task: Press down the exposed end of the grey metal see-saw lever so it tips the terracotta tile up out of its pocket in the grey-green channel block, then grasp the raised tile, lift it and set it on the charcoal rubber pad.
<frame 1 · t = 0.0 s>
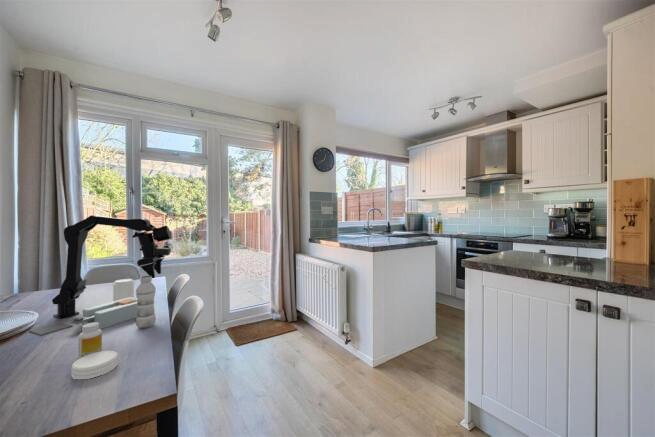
hand: (156, 275, 127), 15 cm above the table, tool pointing down, fingers open, 9 cm apart
supplement bottle: (90, 355, 84), on the table
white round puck: (95, 371, 76), on the table
grey-green channel block: (98, 324, 107), on the table
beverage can: (123, 304, 132), on the table
pad: (51, 328, 103), on the table
tile: (126, 306, 117), point 4 cm above the table, touching lever
lever: (105, 313, 110), point 4 cm above the table, hinge at 0.0°, touching tile
plastic bottle: (145, 327, 105), on the table
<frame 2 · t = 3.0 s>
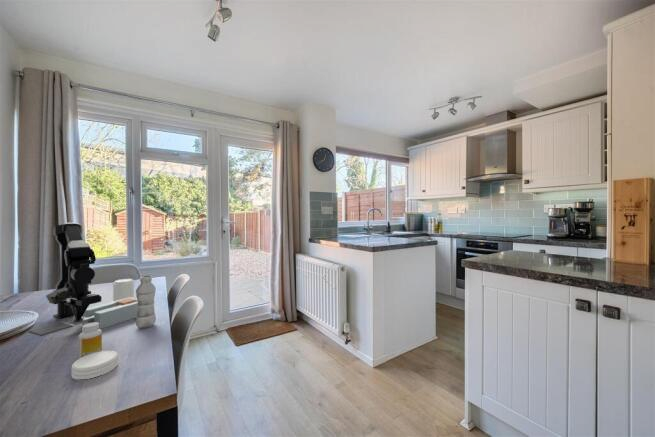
hand: (78, 319, 101), 4 cm above the table, tool pointing down, fingers closed, pressing on lever
tile: (126, 305, 117), point 4 cm above the table
lever: (105, 313, 110), point 4 cm above the table, hinge at 1.1°, touching gripper
everything else where it was.
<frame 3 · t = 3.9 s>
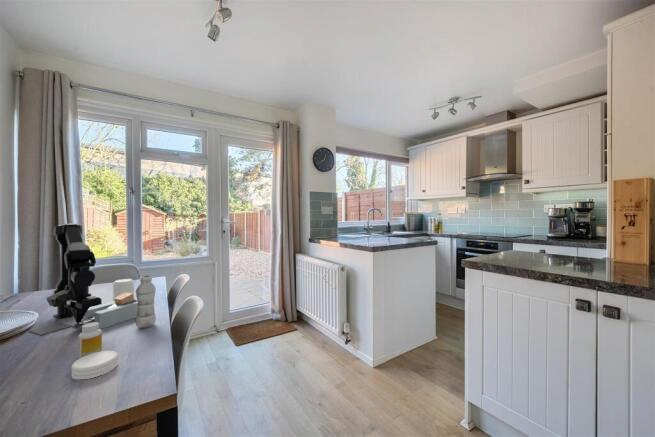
hand: (78, 322, 101), 3 cm above the table, tool pointing down, fingers closed
tile: (124, 300, 116), point 7 cm above the table, tilted 16°, touching lever
lever: (105, 311, 110), point 4 cm above the table, hinge at 15.7°, touching tile
everything else where it was.
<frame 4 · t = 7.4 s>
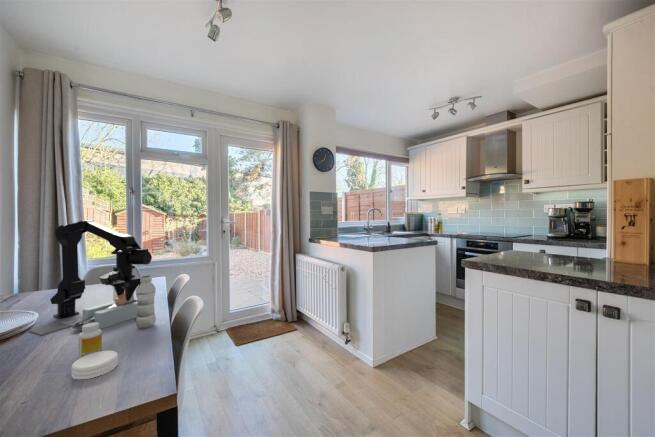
hand: (124, 299, 116), 7 cm above the table, tool pointing down, fingers closed on tile, 5 cm apart
tile: (124, 300, 116), point 7 cm above the table, tilted 16°, touching gripper, lever
everything else where it was.
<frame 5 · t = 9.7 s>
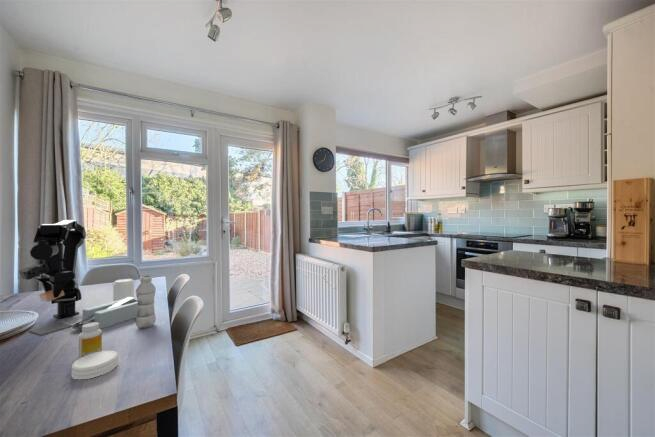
hand: (52, 296, 103), 12 cm above the table, tool pointing down, fingers closed on tile, 5 cm apart
tile: (53, 297, 103), point 12 cm above the table, tilted 16°, touching gripper
lever: (105, 311, 110), point 4 cm above the table, hinge at 15.8°
everything else where it was.
when the fingers open (2 cm above the table, at t = 12.0 s): tile drops 1 cm, resting on pad.
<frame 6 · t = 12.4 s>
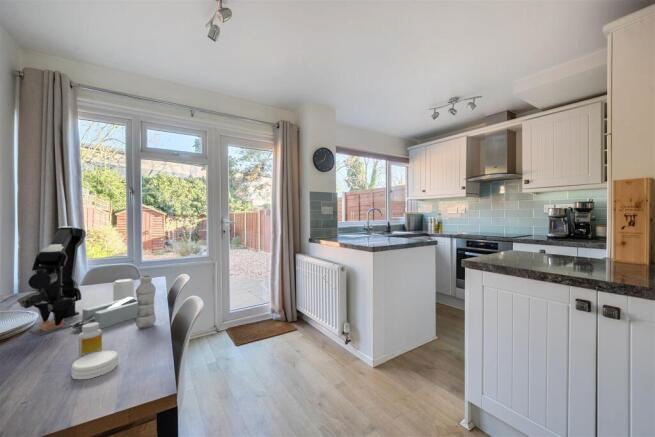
hand: (51, 323, 103), 2 cm above the table, tool pointing down, fingers open, 9 cm apart
tile: (52, 327, 103), resting on pad
everything else where it was.
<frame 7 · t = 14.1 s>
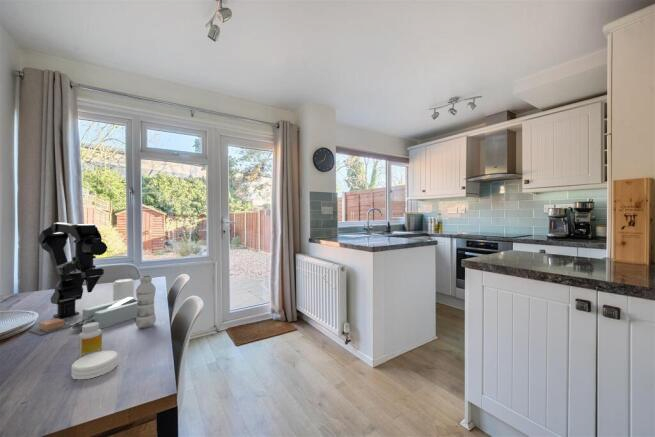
hand: (84, 290, 112), 12 cm above the table, tool pointing down, fingers open, 9 cm apart
nothing on the table moved.
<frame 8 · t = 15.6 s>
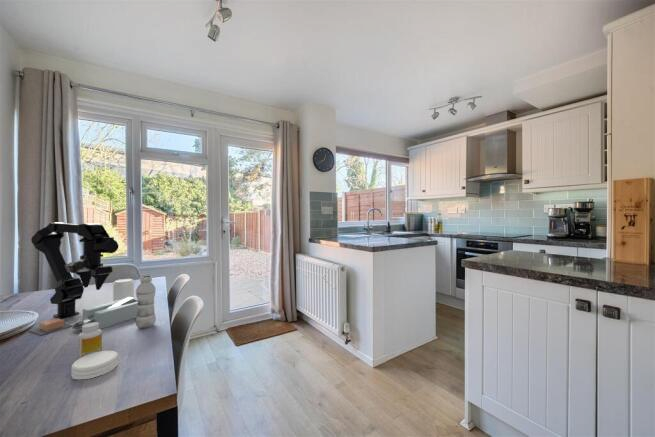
hand: (91, 288, 114), 12 cm above the table, tool pointing down, fingers open, 9 cm apart
nothing on the table moved.
at the end: tile inside the target area on the pad (0.3 cm from its centre), point 0.4 cm above the pad's base; the gripper is holding nothing; lever at +16° (first picture: +0°) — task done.
